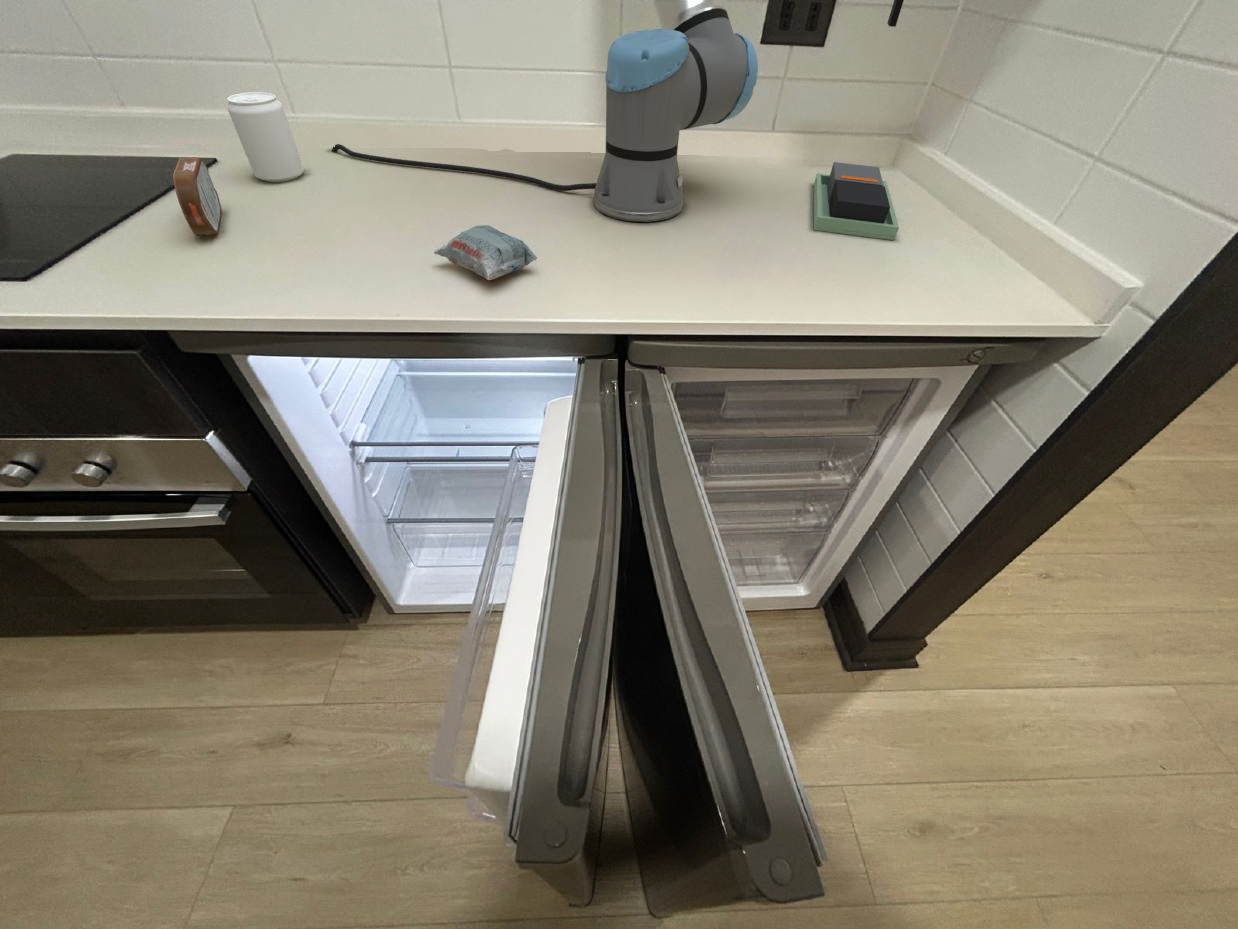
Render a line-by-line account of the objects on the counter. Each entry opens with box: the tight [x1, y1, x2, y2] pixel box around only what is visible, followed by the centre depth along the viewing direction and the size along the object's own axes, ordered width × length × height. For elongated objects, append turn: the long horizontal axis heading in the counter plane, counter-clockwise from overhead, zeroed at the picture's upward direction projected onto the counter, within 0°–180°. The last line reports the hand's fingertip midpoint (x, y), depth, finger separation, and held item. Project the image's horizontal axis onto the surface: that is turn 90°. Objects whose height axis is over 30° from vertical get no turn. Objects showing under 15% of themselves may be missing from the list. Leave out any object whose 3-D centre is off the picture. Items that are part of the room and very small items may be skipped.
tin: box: [172, 156, 222, 237], centre depth 81 cm, size 15×3×8 cm, turn 23°
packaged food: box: [433, 224, 538, 281], centre depth 75 cm, size 9×12×5 cm
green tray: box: [813, 172, 900, 241], centre depth 96 cm, size 22×13×2 cm, turn 166°
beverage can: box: [226, 91, 305, 183], centre depth 95 cm, size 8×8×12 cm
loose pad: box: [829, 181, 890, 224], centre depth 91 cm, size 8×10×4 cm
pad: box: [827, 161, 884, 203], centre depth 98 cm, size 8×10×4 cm
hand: (836, 21), depth 71 cm, fingers open, 13 cm apart
